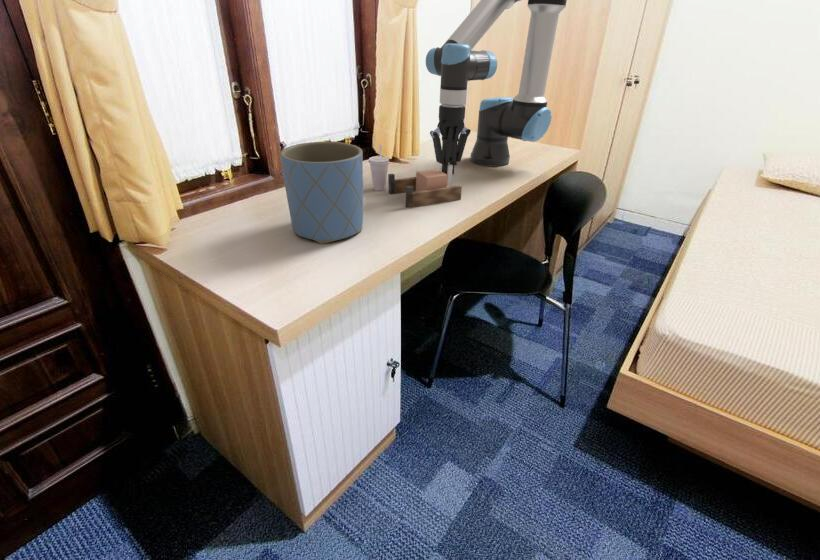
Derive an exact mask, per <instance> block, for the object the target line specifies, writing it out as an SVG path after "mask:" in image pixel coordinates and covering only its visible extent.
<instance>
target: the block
mask: <svg viewBox="0 0 820 560" xmlns="http://www.w3.org/2000/svg"><path fill="white" fill-rule="evenodd" d="M415 177H416V191H415V192H417V191H424V190H431V189H437V188H444V187H448V186H447V177H448V175H447V174H445V173H443V172H442V170H439V169H438V168H432V169H430V168H429V169H422V170H416V174H415Z"/></svg>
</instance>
